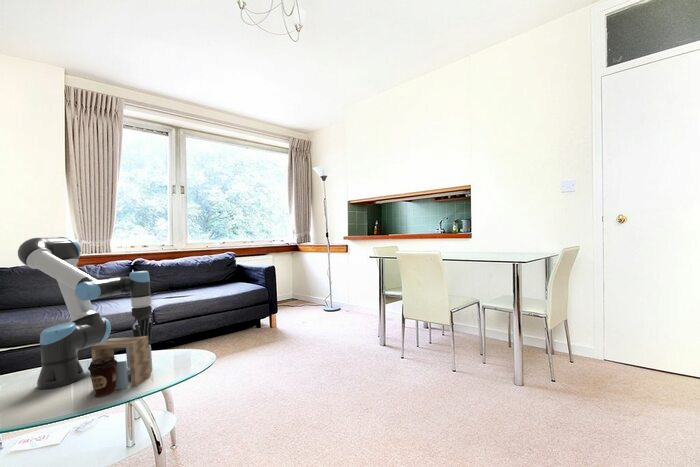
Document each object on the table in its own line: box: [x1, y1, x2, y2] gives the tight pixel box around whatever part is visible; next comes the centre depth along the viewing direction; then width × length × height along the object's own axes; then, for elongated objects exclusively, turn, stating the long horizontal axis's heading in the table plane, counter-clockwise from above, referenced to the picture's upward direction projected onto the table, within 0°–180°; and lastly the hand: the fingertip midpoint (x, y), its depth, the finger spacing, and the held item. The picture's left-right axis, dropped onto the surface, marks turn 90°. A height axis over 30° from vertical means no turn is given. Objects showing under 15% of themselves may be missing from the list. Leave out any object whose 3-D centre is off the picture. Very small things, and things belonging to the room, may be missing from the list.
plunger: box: [115, 344, 153, 390], centre depth 139 cm, size 18×11×11 cm, turn 0°
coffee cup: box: [87, 356, 118, 399], centre depth 126 cm, size 9×8×13 cm
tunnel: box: [90, 336, 152, 387], centre depth 137 cm, size 10×16×17 cm, turn 90°
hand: (145, 359), depth 151 cm, fingers closed
